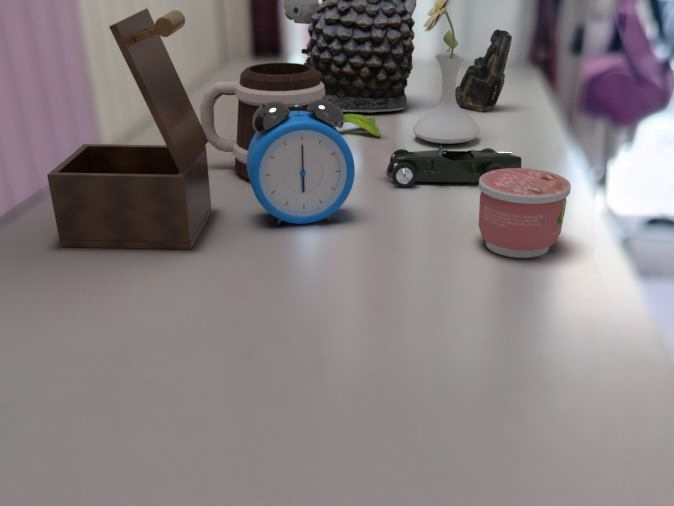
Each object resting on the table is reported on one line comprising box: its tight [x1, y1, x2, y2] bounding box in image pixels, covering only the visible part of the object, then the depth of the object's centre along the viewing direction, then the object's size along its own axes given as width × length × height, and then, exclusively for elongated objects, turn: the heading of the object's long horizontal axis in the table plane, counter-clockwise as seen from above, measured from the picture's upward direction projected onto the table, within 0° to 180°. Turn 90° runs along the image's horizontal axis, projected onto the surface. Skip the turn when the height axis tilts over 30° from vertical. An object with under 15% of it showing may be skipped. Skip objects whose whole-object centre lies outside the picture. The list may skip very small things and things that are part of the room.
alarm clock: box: [247, 99, 356, 226], centre depth 101 cm, size 13×6×15 cm, turn 102°
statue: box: [455, 28, 513, 112], centre depth 154 cm, size 6×12×15 cm, turn 46°
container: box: [478, 167, 572, 259], centre depth 95 cm, size 10×10×8 cm
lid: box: [108, 8, 209, 174], centre depth 92 cm, size 17×13×5 cm
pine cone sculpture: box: [306, 0, 417, 113], centre depth 151 cm, size 21×15×25 cm
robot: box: [282, 0, 320, 67], centre depth 179 cm, size 12×15×30 cm
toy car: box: [385, 144, 522, 188], centre depth 117 cm, size 9×20×5 cm, turn 90°
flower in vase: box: [412, 0, 481, 145], centre depth 130 cm, size 13×11×25 cm
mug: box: [199, 62, 325, 181], centre depth 118 cm, size 20×15×15 cm
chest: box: [46, 143, 213, 250], centre depth 99 cm, size 16×13×9 cm
